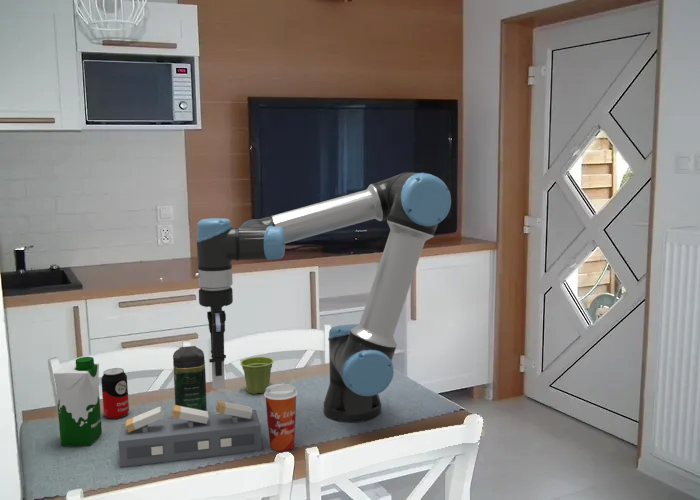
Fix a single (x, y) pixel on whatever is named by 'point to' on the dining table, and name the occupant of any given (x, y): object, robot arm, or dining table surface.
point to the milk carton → (78, 402)
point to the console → (189, 439)
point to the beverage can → (115, 393)
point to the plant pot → (257, 373)
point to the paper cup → (281, 415)
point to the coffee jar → (190, 378)
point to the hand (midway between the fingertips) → (218, 387)
